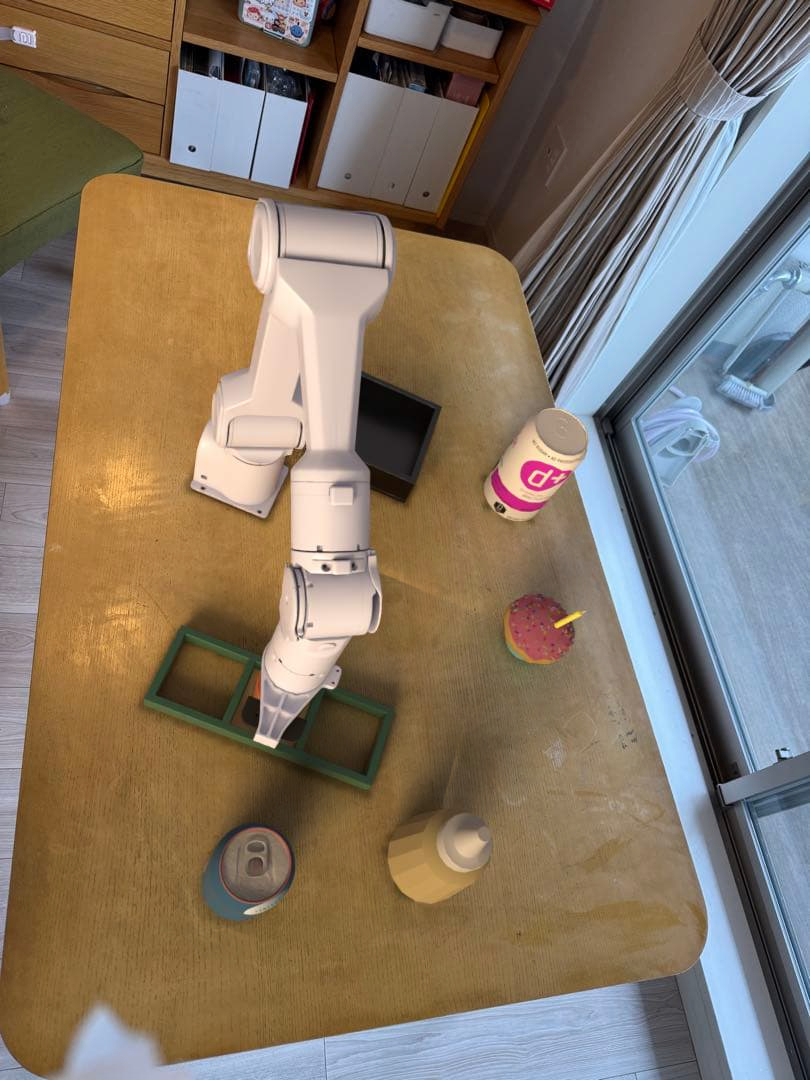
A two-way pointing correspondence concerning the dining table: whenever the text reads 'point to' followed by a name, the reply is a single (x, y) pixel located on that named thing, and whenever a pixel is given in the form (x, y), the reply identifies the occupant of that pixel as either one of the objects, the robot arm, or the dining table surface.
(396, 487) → the open box
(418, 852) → the squeeze bottle
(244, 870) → the soda can
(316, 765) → the rack
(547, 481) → the supplement can
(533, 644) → the cupcake
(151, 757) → the dining table surface
